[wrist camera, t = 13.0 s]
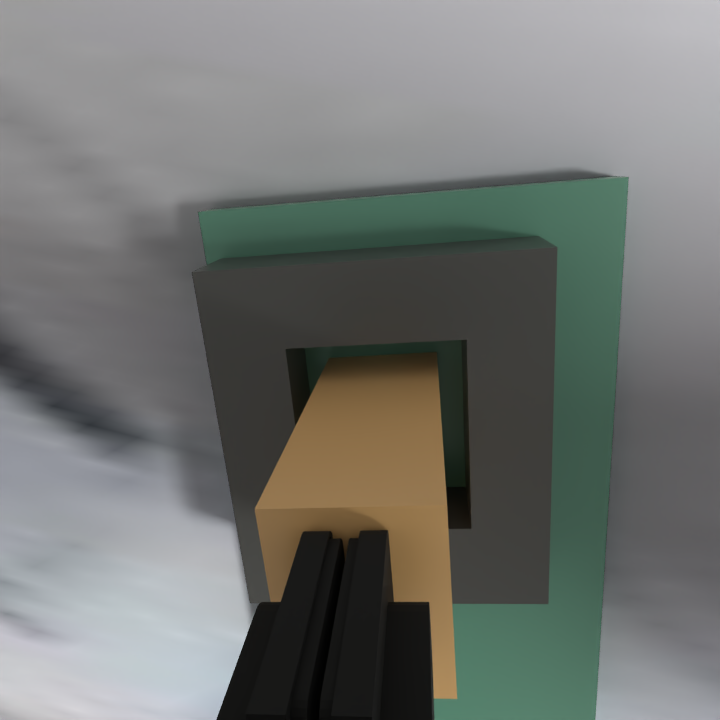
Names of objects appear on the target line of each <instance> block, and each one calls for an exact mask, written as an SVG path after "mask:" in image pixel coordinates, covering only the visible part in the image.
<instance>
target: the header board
mask: <svg viewBox="0 0 720 720" xmlns="http://www.w3.org/2000/svg"><path fill="white" fill-rule="evenodd" d="M628 178H629V177H619V176H613V177H600V178H588V179H576V180H564V181H551V182H539V183H527V184H515V185H502V186H490V187H478V188H466V189H453V190H441V191H429V192H417V193H404V194H392V195H380V196H368V197H355V198H343V199H331V200H319V201H306V202H294V203H282V204H270V205H257V206H245V207H233V208H221V209H210V210H205V211H201V212H198V215H199V221H200V227H201V233H202V239H203V245H204V251H205V257H206V263H207V265H206V266H204V267H202V268H200V269H197V270H195V271H193V272H192V276H193V281H194V287H195V293H196V298H197V304H198V310H199V315H200V321H201V327H202V333H203V338H204V344H205V350H206V355H207V361H208V367H209V372H210V378H211V384H212V389H213V395H214V401H215V407H216V412H217V418H218V424H219V429H220V435H221V441H222V446H223V452H224V458H225V463H226V469H227V475H228V480H229V486H230V492H231V498H232V503H233V509H234V515H235V520H236V526H237V532H238V537H239V543H240V549H241V554H242V560H243V566H244V572H245V577H246V583H247V589H248V594H249V600H250V603H261V602H271V601H270V595H269V590H268V584H267V578H266V572H265V567H264V561H263V555H262V549H261V543H260V538H259V532H258V526H257V520H256V515H255V507H256V505H257V503H258V501H259V499H260V497H261V495H262V493H263V491H264V489H265V487H266V485H267V483H268V481H269V479H270V477H271V475H272V473H273V471H274V469H275V467H276V465H277V463H278V461H279V459H280V457H281V455H282V453H283V451H284V448H285V446H286V444H287V442H288V440H289V438H290V436H291V434H292V432H293V430H294V428H295V426H296V424H297V422H298V420H299V418H300V416H301V414H302V412H303V410H304V408H305V406H306V404H307V402H308V400H309V398H310V396H311V394H312V392H313V390H314V388H315V385H316V383H317V381H318V379H319V377H320V375H321V373H322V371H323V369H324V367H325V365H326V363H327V361H328V359H329V358H337V357H354V356H372V355H390V354H409V353H427V352H437V362H438V376H439V391H440V406H441V421H442V436H443V451H444V466H445V481H446V496H447V512H448V531H449V551H450V570H451V589H452V608H453V628H454V647H455V666H456V685H457V699H435V698H434V720H595V715H596V699H597V683H598V666H599V650H600V634H601V618H602V601H603V585H604V569H605V552H606V536H607V520H608V504H609V487H610V471H611V455H612V439H613V422H614V406H615V390H616V373H617V357H618V341H619V325H620V308H621V292H622V276H623V260H624V243H625V227H626V211H627V195H628Z"/></svg>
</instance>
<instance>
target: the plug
mask: <svg viewBox="0 0 720 720" xmlns="http://www.w3.org/2000/svg"><path fill="white" fill-rule="evenodd" d="M255 515H256V520H257V526H258V532H259V538H260V543H261V549H262V555H263V561H264V567H265V572H266V578H267V584H268V590H269V595H270V601H271V602H281V599H282V596H283V593H284V589H285V586H286V583H287V580H288V577H289V573H290V570H291V567H292V564H293V561H294V557H295V554H296V551H297V548H298V544H299V541H300V538H301V535H302V533H303V532H304V531H331V532H332V535H333V539H337V538H341V539H342V541H343V548H344V557H345V559H346V553H347V548H348V542H349V539H350V538H359V533H360V531H362V530H388V533H389V545H390V557H391V570H392V583H393V595H394V602H429V605H430V622H431V640H432V662H433V689H434V698H435V699H457V685H456V666H455V647H454V628H453V608H452V589H451V570H450V551H449V531H448V512H447V496H446V481H445V466H444V451H443V436H442V421H441V406H440V391H439V376H438V362H437V352H427V353H409V354H390V355H372V356H354V357H337V358H329V359H328V361H327V363H326V365H325V367H324V369H323V371H322V373H321V375H320V377H319V379H318V381H317V383H316V385H315V388H314V390H313V392H312V394H311V396H310V398H309V400H308V402H307V404H306V406H305V408H304V410H303V412H302V414H301V416H300V418H299V420H298V422H297V424H296V426H295V428H294V430H293V432H292V434H291V436H290V438H289V440H288V442H287V444H286V446H285V448H284V451H283V453H282V455H281V457H280V459H279V461H278V463H277V465H276V467H275V469H274V471H273V473H272V475H271V477H270V479H269V481H268V483H267V485H266V487H265V489H264V491H263V493H262V495H261V497H260V499H259V501H258V503H257V505H256V507H255Z"/></svg>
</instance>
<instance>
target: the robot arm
mask: <svg viewBox="0 0 720 720" xmlns="http://www.w3.org/2000/svg"><path fill="white" fill-rule="evenodd" d="M217 720H434V689H433V662H432V640H431V622H430V605H429V602H394V595H393V583H392V570H391V557H390V545H389V533H388V530H362V531H360V533H359V538H350V539H349V542H348V548H347V553H346V559H345V557H344V548H343V541H342V539H341V538H337V539H333V535H332V532H331V531H304V532H303V533H302V535H301V538H300V541H299V544H298V548H297V551H296V554H295V557H294V561H293V564H292V567H291V570H290V573H289V577H288V580H287V583H286V586H285V589H284V593H283V596H282V599H281V602H261V603H260V604H259V605H258V607H257V609H256V612H255V614H254V617H253V620H252V623H251V625H250V628H249V631H248V634H247V636H246V639H245V642H244V645H243V648H242V650H241V653H240V656H239V659H238V661H237V664H236V667H235V670H234V673H233V675H232V678H231V681H230V684H229V686H228V689H227V692H226V695H225V697H224V700H223V703H222V706H221V709H220V711H219V714H218V717H217Z"/></svg>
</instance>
